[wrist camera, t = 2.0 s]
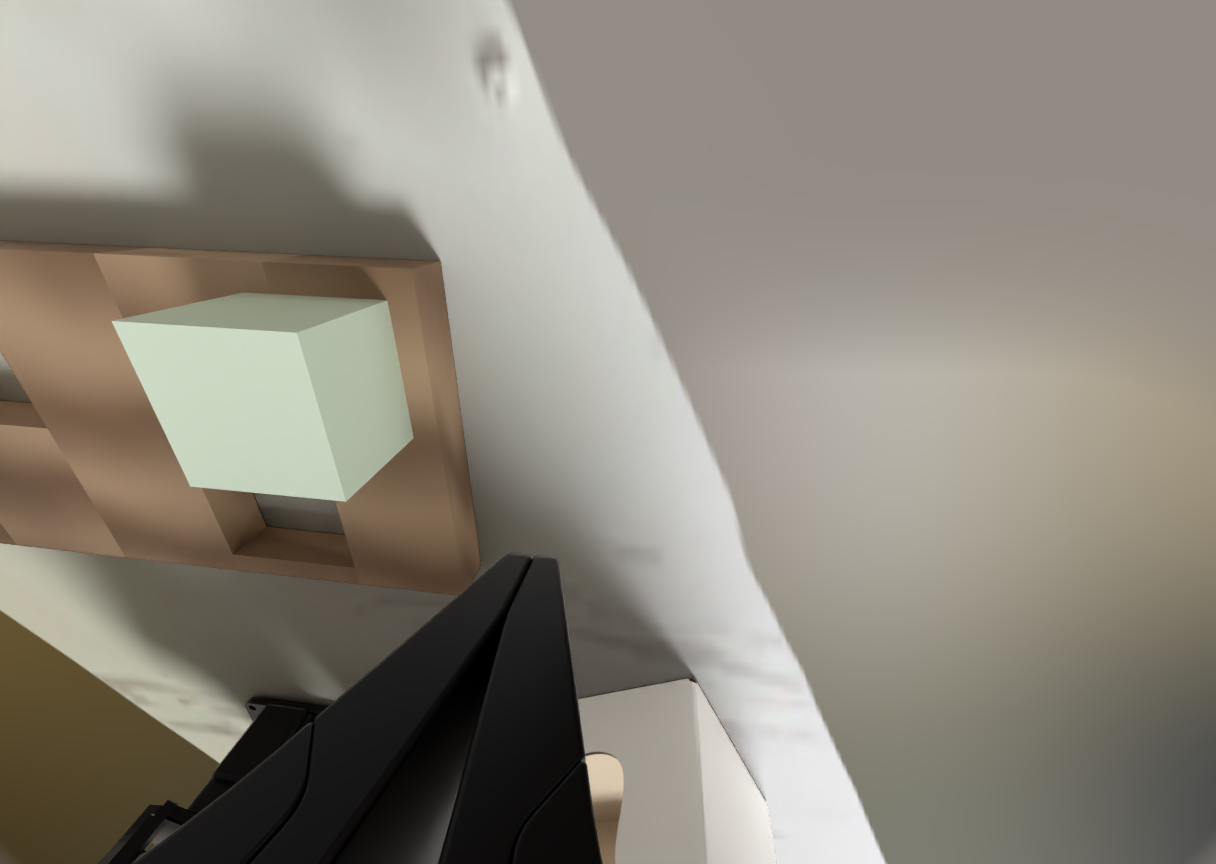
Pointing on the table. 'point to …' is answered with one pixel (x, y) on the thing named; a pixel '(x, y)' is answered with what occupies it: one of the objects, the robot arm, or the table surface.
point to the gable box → (670, 781)
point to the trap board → (142, 456)
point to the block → (274, 391)
